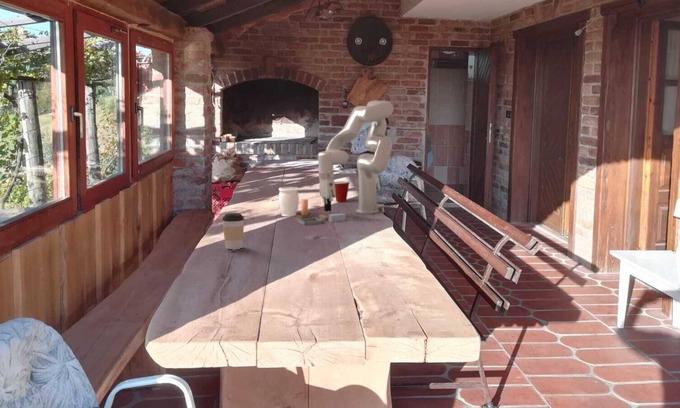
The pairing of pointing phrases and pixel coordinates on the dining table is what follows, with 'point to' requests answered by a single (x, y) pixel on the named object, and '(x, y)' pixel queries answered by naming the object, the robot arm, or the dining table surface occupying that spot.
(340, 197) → the plastic cup
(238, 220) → the coffee cup
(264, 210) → the dining table surface
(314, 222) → the tray
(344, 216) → the gray rectangular block
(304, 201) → the dowel
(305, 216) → the holder
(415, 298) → the dining table surface
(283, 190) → the jar
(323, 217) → the tan wooden block
